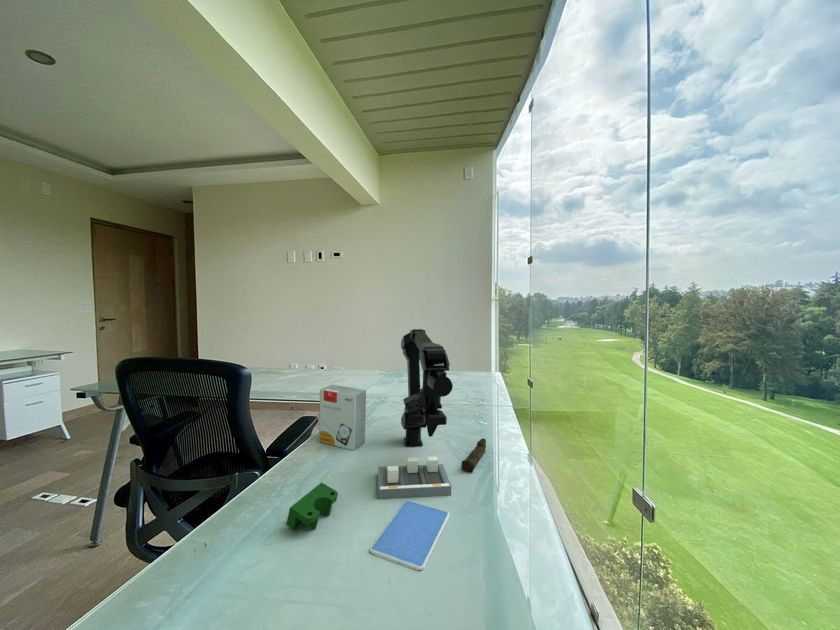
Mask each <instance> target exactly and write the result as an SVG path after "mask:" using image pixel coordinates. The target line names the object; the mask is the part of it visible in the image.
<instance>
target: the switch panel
mask: <svg viewBox="0 0 840 630" xmlns="http://www.w3.org/2000/svg"><path fill="white" fill-rule="evenodd" d="M397 466H398V470H399V475H398V483H387V466H377V467H378V468H377V481H378V482H377V485H378V486H377V495H378V496H377V499H378V500H383V499H384V500H385V499H404V498H422V497H438V496H439V497H440V496H441V497H442V496H451V495H452V484H451V482H450V479H449V477H448V474H447V471H446V469H445V466H444V464H443V463H438V472H428V471H427V464H418V473H407V465H397Z"/></svg>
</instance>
